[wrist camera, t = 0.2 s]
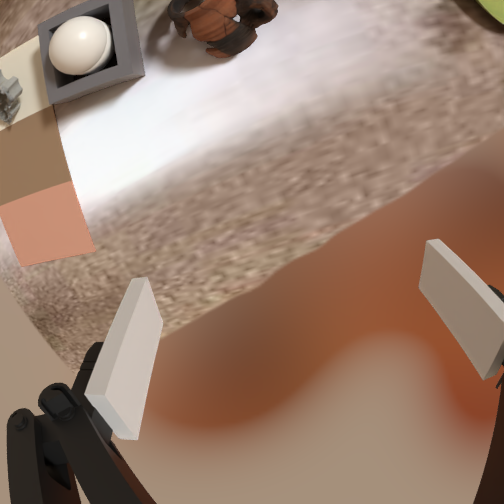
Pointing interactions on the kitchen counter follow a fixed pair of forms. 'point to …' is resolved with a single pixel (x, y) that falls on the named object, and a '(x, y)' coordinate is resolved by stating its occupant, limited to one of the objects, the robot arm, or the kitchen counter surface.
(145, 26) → the kitchen counter surface
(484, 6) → the saucer
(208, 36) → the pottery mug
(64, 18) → the housing
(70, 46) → the cream ball
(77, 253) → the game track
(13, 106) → the egg carton
